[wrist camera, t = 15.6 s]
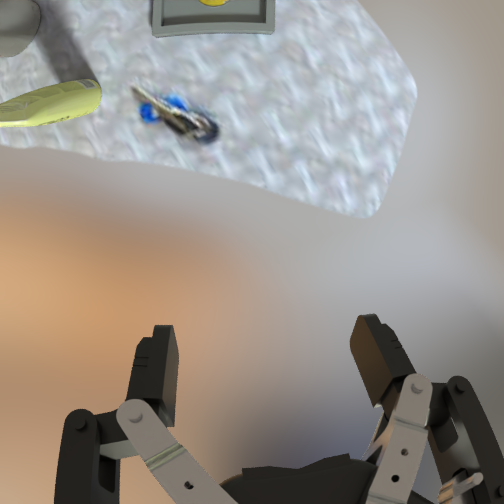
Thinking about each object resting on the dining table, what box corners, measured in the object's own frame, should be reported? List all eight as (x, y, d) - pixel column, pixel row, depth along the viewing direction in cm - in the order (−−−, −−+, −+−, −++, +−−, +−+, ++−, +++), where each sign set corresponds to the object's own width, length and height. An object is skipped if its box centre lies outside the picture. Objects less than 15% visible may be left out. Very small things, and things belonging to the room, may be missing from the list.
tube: (79, 124, 33) (-13, 168, 16) (61, 97, 30) (-37, 125, 14) (109, 98, 32) (23, 121, 15) (91, 70, 29) (-4, 75, 13)
